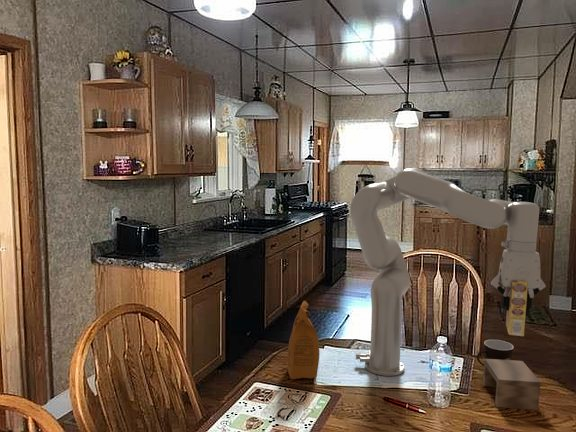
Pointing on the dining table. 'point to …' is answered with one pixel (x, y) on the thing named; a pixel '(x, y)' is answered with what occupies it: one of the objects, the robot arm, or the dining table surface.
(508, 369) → the walnut shelf
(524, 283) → the candy box
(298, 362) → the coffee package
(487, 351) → the coffee mug
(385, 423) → the dining table surface
